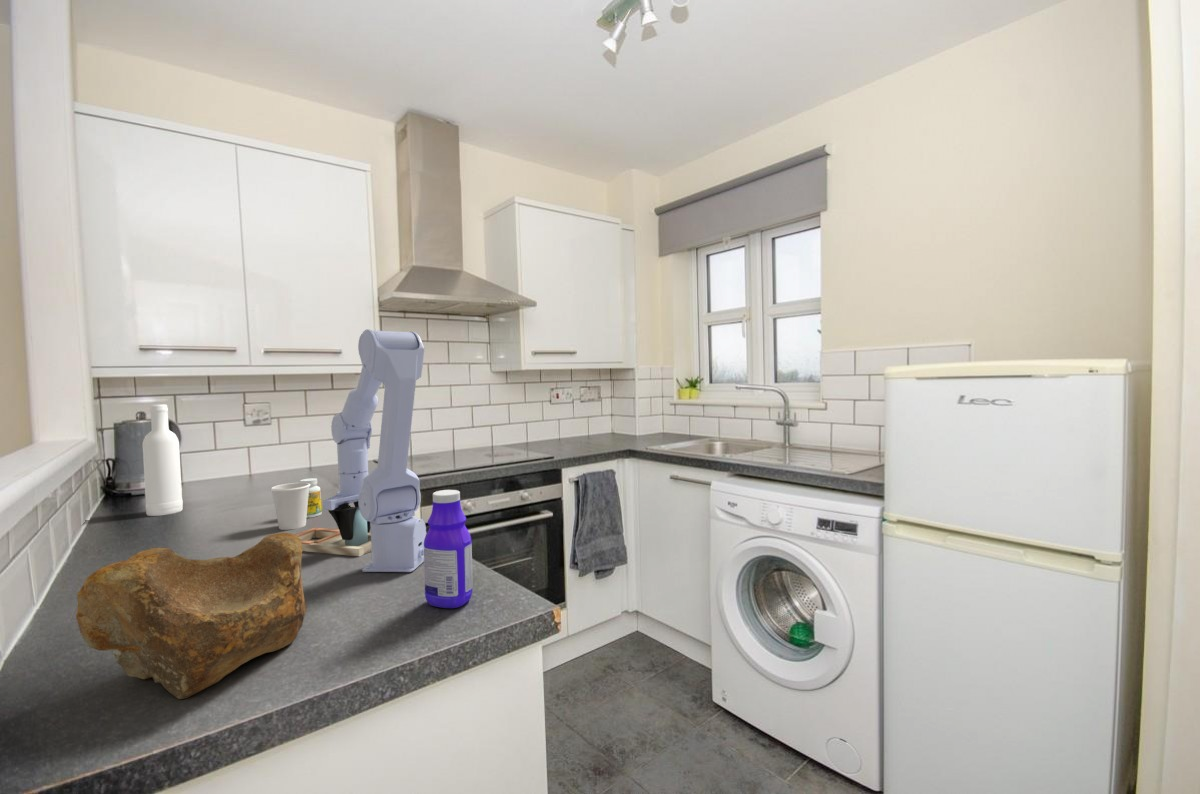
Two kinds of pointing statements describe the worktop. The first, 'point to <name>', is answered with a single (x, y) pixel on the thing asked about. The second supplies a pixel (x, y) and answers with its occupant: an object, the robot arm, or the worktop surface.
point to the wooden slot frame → (331, 542)
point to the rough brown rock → (194, 611)
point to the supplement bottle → (313, 498)
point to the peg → (358, 531)
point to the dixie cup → (291, 504)
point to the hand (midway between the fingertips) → (356, 535)
